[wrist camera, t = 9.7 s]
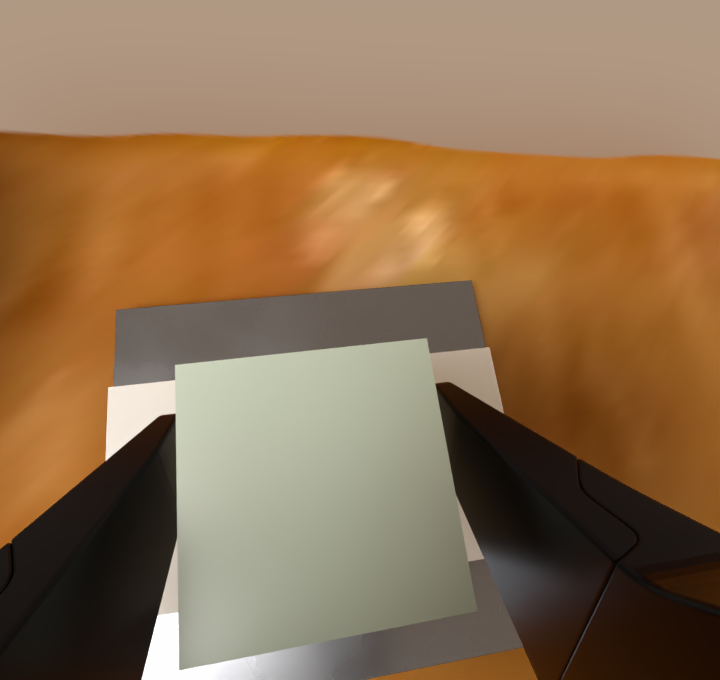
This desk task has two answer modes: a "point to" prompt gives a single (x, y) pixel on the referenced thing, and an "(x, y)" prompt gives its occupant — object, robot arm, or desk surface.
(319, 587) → the block
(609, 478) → the robot arm
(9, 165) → the desk surface
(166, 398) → the mounted modules
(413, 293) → the mounting plate
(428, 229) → the desk surface
